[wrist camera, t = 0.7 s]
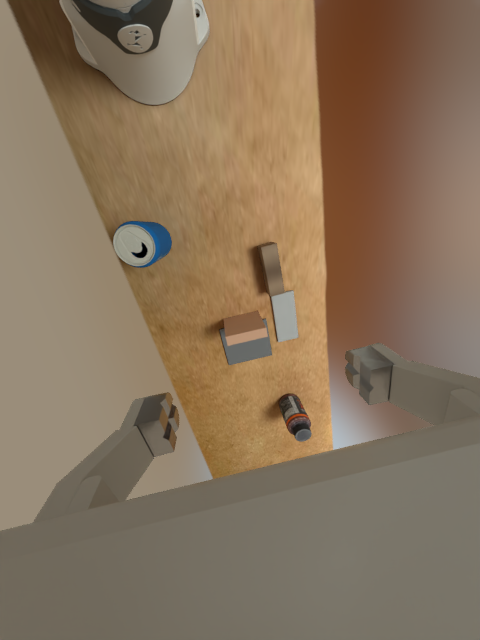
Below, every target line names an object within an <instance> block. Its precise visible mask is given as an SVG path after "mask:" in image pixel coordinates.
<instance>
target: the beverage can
mask: <svg viewBox="0 0 480 640" xmlns="http://www.w3.org/2000/svg"><path fill="white" fill-rule="evenodd" d="M171 245H172V241H171V237H170V234H169V232H168V231H167V230H166V229H165V228H164V227H163V226H162V225H160V224H158V223H154V222H140V221H129V222H126V223H123V224H122V225H120V226H119V227H118V229H117V230H116V232H115V234H114V238H113V246H114V249H115V252H116V253H117V255H118V256H119V257H120V258H121V259H122V260H123V261H124V262H126V263H127V264H129V265H131V266H134V267H147V266H150V265H152V264H153V263H155V262H156V261H158V260H159V259H161V258H163V257H164V256H166V255H167V254H168V253H169V251H170V249H171Z"/></svg>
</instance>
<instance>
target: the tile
mask: <svg viewBox="0 0 480 640" xmlns="http://www.w3.org/2000/svg"><path fill="white" fill-rule="evenodd" d="M224 328H225V337H226V341H227V345H228V346H230V345H234V344H238V343H243V342H247V341H251V340H255V339H260V338H264V337H268V334H267V328H266V326H265V324H264V322H263V320H262V318H261V316H260V314H259V312H258V311H255V312H251V313H246V314H242V315H238V316H233V317H229V318H225V319H224Z"/></svg>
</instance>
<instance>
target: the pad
mask: <svg viewBox="0 0 480 640" xmlns="http://www.w3.org/2000/svg"><path fill="white" fill-rule="evenodd" d="M271 300H272V306H273V313H274V320H275V326H276V333H277V339H278V342H282V341H286V340H290V339H294V338H298V329H297V320H296V310H295V301H294V291H293V290H291V291H287V292H285V293H284V294H280V295H276V296H272V297H271Z"/></svg>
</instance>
